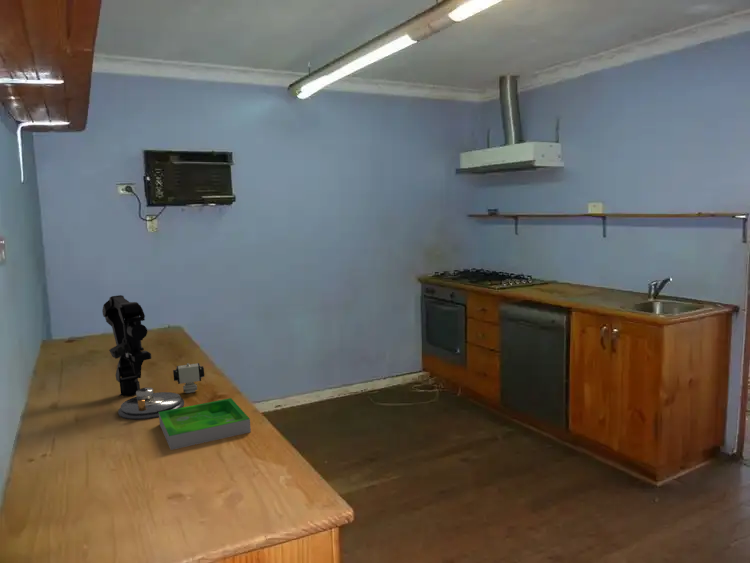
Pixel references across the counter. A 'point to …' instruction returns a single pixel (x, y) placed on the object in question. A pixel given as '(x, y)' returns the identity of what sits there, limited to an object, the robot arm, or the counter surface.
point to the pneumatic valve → (189, 376)
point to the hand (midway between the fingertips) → (136, 374)
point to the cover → (145, 393)
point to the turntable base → (148, 416)
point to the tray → (203, 423)
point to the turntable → (151, 404)
